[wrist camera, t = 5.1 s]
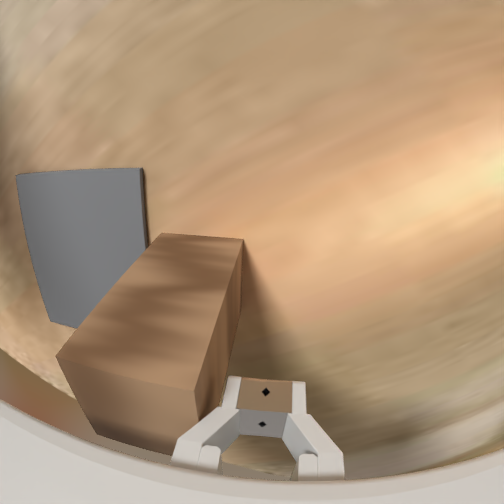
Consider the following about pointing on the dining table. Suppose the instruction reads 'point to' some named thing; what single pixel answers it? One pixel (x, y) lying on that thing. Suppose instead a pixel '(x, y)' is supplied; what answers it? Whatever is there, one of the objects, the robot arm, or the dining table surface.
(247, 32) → the dining table surface
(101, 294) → the panel
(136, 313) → the walnut block
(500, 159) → the dining table surface
